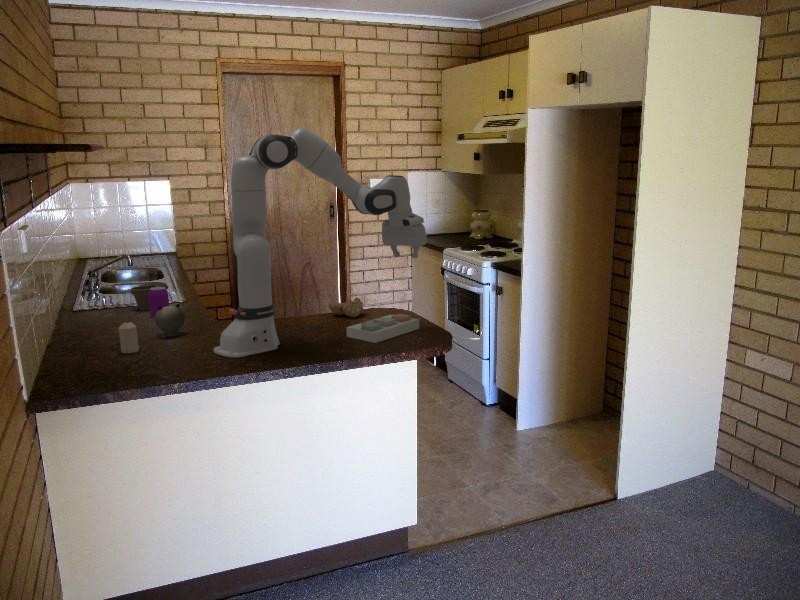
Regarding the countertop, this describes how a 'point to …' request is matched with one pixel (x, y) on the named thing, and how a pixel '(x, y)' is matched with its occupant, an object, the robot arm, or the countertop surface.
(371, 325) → the sage key
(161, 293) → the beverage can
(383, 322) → the grey key
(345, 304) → the ginger root
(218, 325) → the countertop surface
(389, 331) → the keypad
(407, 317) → the terracotta key
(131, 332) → the candle
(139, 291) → the flower pot
